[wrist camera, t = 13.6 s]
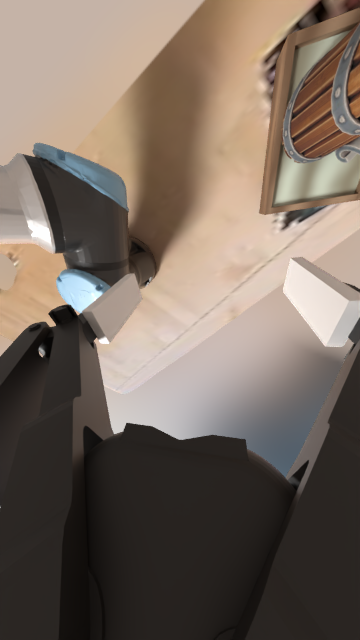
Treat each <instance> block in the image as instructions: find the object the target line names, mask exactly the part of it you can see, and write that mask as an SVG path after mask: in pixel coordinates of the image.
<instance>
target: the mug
mask: <svg viewBox="0 0 360 640" xmlns="http://www.w3.org/2000/svg"><path fill="white" fill-rule="evenodd" d="M281 140H282V145H283V146H284V151H285V153H286V155H287V156H288V157H289V158H290V159H293V160H294V162H297V163H312V162H315V161H317V160H320V159H322V158H324V157H326V156H328V155H329V154H331V153H332V152H334V151H335V155H336V157H337V159H338V160H339V161H340V162H343V163H348V162H350V161H351V160H352V159H353V158H354V157H355V156H356V155H357V154H359V155H360V22H359V23H358V24H357V25H356V26H355V27H354V28H353V29H352V30H351V31H350V32H349V33H348V34H347V35H346V36H345V37H344V38H343V39H342V40H341V41H340V42H339V43H338V44H337V45H336V46H335V47H333V48H332V49H331V50H330V51H329V52H327V53H326V54H325V55H324V56H323V57H321V58H320V59H319V60H318V61H317V62H316V63H315V64H314V65H313V66H312V67H311V69H310V70H309V71H308V72H307V73H306V75H305V76H304V77H303V78H302V79H301V81H300V83H299V84H298V86H297V88H296V89H295V91H294V93H293V95H292V97H291V100H290V101H289V102H288V105H287V108H286V110H285V113H284V117H283V127H282V129H281Z"/></svg>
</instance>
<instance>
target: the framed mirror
mask: <svg viewBox="0 0 360 640" xmlns="http://www.w3.org/2000/svg"><path fill="white" fill-rule="evenodd" d="M359 22H360V8H357V9H354V10H352V11H349V12H347V13H344V14H341V15H339V16H336V17H333V18H331V19H328V20H326V21H323V22H320V23H318V24H315V25H312V26H310V27H307V28H305V29H302V30H299V31H297V32H294V33H291V34H289V35H288V37H287V40H286V42H285V44H284V46H283V49H282V51H281V53H280V55H279V58H278V60H277V62H276V71H275V79H274V88H273V97H272V106H271V115H270V124H269V132H268V141H267V150H266V159H265V168H264V177H263V185H262V194H261V203H260V212H259V213H260V214H264V215H266V214H273V213H279V212H286V211H292V210H298V209H305V208H311V207H317V206H324V205H330V204H337V203H343V202H349V201H356V200H360V155H359V154H357V155H356V156H355V157H354V158H353V159H352V160H351V161H350V162H348V163H343V162H340V161H339V160H338V159H337V157H336V155H335V151H334V152H332V153H331V154H329V155H328V156H326V157H324V158H322V159H320V160H317V161H315V162H312V163H297V162H294V160H293V159H290V158H289V157H288V156H287V155H286V153H285V151H284V146H283V145H282V140H281V129H282V127H283V117H284V113H285V110H286V108H287V105H288V102H289V101H290V100H291V97H292V95H293V93H294V91H295V89H296V88H297V86H298V84H299V83H300V81H301V79H302V78H303V77H304V76H305V75H306V73H307V72H308V71H309V70H310V69H311V67H312V66H313V65H314V64H315V63H316V62H317V61H318V60H319V59H320V58H321V57H323V56H324V55H325V54H326V53H327V52H329V51H330V50H331V49H332V48H333V47H335V46H336V45H337V44H338V43H339V42H340V41H341V40H342V39H343V38H344V37H345V36H346V35H347V34H348V33H349V32H350V31H351V30H352V29H353V28H354V27H355V26H356V25H357V24H358V23H359Z"/></svg>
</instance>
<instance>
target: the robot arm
mask: <svg viewBox="0 0 360 640" xmlns="http://www.w3.org/2000/svg"><path fill="white" fill-rule="evenodd" d="M33 154H34V155H35V157H32V156H28V155H24V154H20V153H17V154H16V155H15V157H14V158H13V159H12V160H11V161H10V163H9V164H7V165H5V166H1V165H0V244H25V243H33V244H36V245H39V246H40V247H42V248H43V249H45V250H47V251H48V252H50V253H63V256H64V259H65V263H66V267H67V269H65V270H63V271H62V272H61V273H60V275H59V277H58V278H57V281H56V284H57V289H58V291H59V293H60V295H61V296H62V298H63V299H64V300H65V301H66V302H67V303H68V305H62V306H59V307H57V308H55V309H53V310H52V311H50V312H49V313H48V314H49V315H50V317H51V318H52V319H53V321H54V322H55V323H56V326H54V327H49V325H48V324H47V323H46V322H39V323H35V324H32V325H30V326H29V327H28V328H26V329H25V330H24V331H23V332H22V333H21V334H20V335H19V337H18V338H17V339H16V340H15V341H14V342H13V343H12V344H11V346H9V348H8V349H7V350H6V351H5V352H4V353H3V354H2V355H1V356H0V506H1V508H0V640H360V289H358V288H357V287H355V286H352V285H350V284H347V283H344V282H341V281H339V280H338V279H337V278H335V277H333V276H332V275H330V274H329V273H327V272H325V271H324V270H322V269H320V268H319V267H317V266H316V265H314V264H312V263H311V262H309V261H308V260H306V259H304V258H303V257H298V258H291V259H290V263H289V267H288V271H287V275H286V279H285V284H284V288H283V292H284V293H285V295H286V296H287V297H288V298H289V300H290V301H291V303H292V304H293V305H294V306H295V308H296V309H297V310H298V312H299V313H300V314H301V315H302V317H303V318H304V319H305V321H306V322H307V323H308V324H309V326H310V327H311V328H312V330H313V331H314V332H315V334H316V335H317V336H318V337H319V338H320V340H321V341H322V343H323V344H324V345H325V346H326V347H343V346H344V344H345V343H346V341H347V339H348V338H349V339H350V340H351V341H352V342H354V344H353V346H352V347H351V349H350V350H349V352H348V354H347V355H346V356H345V358H344V359H345V361H344V363H343V365H342V367H341V369H340V371H339V373H338V375H337V377H336V380H335V382H334V384H333V386H332V388H331V390H330V392H329V394H328V396H327V398H326V400H325V402H324V404H323V406H322V408H321V410H320V412H319V414H318V416H317V418H316V421H315V422H314V424H313V426H312V429H311V431H310V433H309V435H308V437H307V439H306V441H305V443H304V445H303V447H302V449H301V451H300V453H299V455H298V457H297V459H296V461H295V462H294V464H293V465H292V467H291V469H290V470H289V472H288V474H287V476H286V478H285V477H284V476H283V475H282V474H281V473H280V472H279V471H278V470H277V469H276V468H275V467H274V466H272V464H270V463H269V462H268V461H266V460H265V459H264V458H262V457H261V456H259V455H257V454H256V453H254V452H252V451H250V450H248V449H247V446H246V440H245V439H238V438H230V437H224V436H217V435H209V436H203V437H197V438H191V439H185V440H178V439H176V438H174V437H172V436H170V435H168V434H166V433H164V432H162V431H160V430H158V429H156V428H154V427H152V426H145V425H138V424H131V423H126V426H125V429H124V431H123V432H120V433H117V434H114V433H113V431H112V428H111V424H110V419H109V413H108V407H107V402H106V397H105V391H104V386H103V380H102V375H101V369H100V364H99V358H98V353H97V347H96V344H95V342H94V340H95V339H96V337H97V338H98V340H99V342H100V343H106V344H110V342H111V341H112V340H113V338H114V337H115V336H116V334H117V333H118V332H119V330H120V329H121V328H122V326H123V325H124V323H125V322H126V321H127V319H128V318H129V317H130V315H131V314H132V313H133V311H134V310H135V309H136V307H137V306H138V305H139V303H140V302H141V301H142V295H141V292H140V289H142V288H144V287H146V286H147V285H149V283H150V282H151V281H152V280H153V278H154V276H155V273H156V263H155V259H154V256H153V254H152V253H151V251H150V250H149V248H148V247H147V246H146V245H145V244H144V243H143V242H141V241H139V240H138V239H135V238H132V237H128V212H129V209H128V207H127V194H126V186H125V183H124V181H123V180H122V178H121V177H120V176H119V175H117V174H116V173H115V172H113V171H111V170H109V169H107V168H105V167H103V166H101V165H99V164H97V163H94V162H92V161H90V160H87V159H85V158H82V157H80V156H77V155H75V154H72V153H69V152H64V151H63V150H60V149H57V148H55V147H52V146H49V145H46V144H42V143H35V144H34V149H33ZM73 308H74V309H75V310H76V311H78V312H79V313H81V314H80V315H77V314H76V312H75V311H74V309H73ZM38 350H39V351H40V352H41V354H42V355H43V358H42V357H41V356H40V355H39V351H38Z"/></svg>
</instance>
